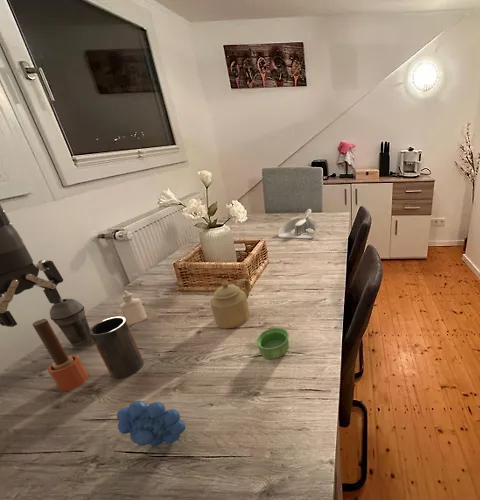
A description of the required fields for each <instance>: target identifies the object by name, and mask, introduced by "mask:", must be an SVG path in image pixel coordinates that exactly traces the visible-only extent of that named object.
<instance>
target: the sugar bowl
mask: <svg viewBox="0 0 480 500" xmlns="http://www.w3.org/2000/svg"><path fill="white" fill-rule="evenodd" d="M243 285H244V290H243ZM250 290H251V285H250V281H249V280H248V279H247V278H240V279H239V280H238V281H237V285H235V284H229V282H228V281H227V280H225V279H224V280H222V282H221V286H220V287H218V288H217V289H216V290H214V292H213V293H212V298H211V299H210V303H209V304H210V307H211V311H212V315H213V318H214V322H215V324H216V326H217V327H218V328H221V329H233V328H236V327H239V326H241V325H243V324H245V323H246V322H247V321H248V320H249V318H250V309H249V303H248V299H249V296H250V292H251V291H250Z"/></svg>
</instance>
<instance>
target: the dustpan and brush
mask: <svg viewBox="0 0 480 500" xmlns="http://www.w3.org/2000/svg"><path fill="white" fill-rule="evenodd" d="M311 214H312V209H311V208H308V209H307V210H306V211H305V212H304V214H303V216H298V217H295V218H292V219H289V220H288V221H286V222H285V223H283V225H282V226H281V227H280V228H279V230H278V232H277V237H278V238H279V239H280V238H281V239H299V240H301V239H303V240H304V239H305V240H312V239H313V238H314V239H315V237H316V234H317V229H318V223H317V221H316V219H314V218H312V217H309V216H310V215H311ZM308 228H311V229H313V230H314V231H315V232H314V233H309V232H308V231H306V229H308ZM293 229H295V232H294V234H293V233H291V230H293ZM303 233H305V234H303ZM306 233H307V234H306ZM301 234H303V235H301Z"/></svg>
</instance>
